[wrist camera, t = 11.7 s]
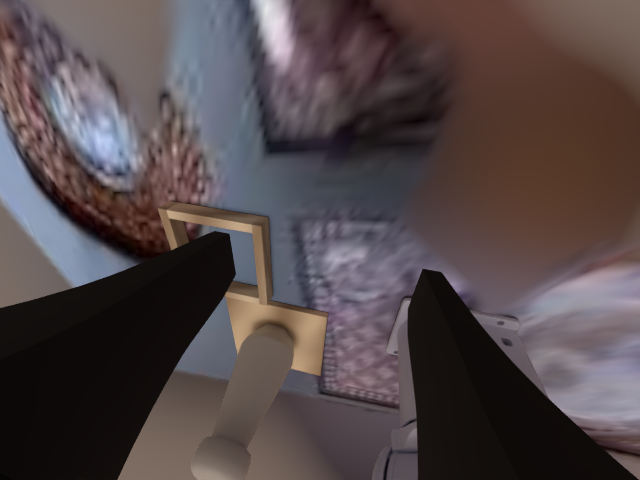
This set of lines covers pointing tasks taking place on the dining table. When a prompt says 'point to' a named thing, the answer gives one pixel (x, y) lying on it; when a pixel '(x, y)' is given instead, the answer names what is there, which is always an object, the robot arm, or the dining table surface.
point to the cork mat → (296, 321)
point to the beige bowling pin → (245, 404)
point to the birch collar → (257, 225)
